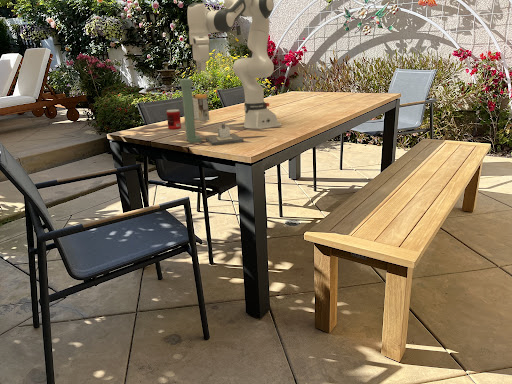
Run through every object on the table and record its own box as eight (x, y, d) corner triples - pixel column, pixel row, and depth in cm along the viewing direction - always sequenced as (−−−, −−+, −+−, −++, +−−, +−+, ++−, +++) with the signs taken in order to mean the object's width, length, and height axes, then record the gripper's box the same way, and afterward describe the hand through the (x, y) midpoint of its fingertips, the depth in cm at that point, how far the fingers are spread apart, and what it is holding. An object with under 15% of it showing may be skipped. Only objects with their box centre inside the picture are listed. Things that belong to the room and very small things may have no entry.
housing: (227, 136, 210) (226, 122, 208) (230, 138, 206) (229, 124, 204) (218, 137, 209) (217, 123, 207) (220, 139, 205) (219, 125, 202)
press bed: (235, 137, 217) (235, 133, 216) (243, 142, 204) (243, 138, 204) (206, 140, 212) (205, 136, 211) (212, 145, 199) (211, 142, 199)
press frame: (198, 139, 216) (193, 78, 205) (201, 141, 208) (196, 79, 198) (185, 140, 214) (179, 79, 203) (187, 143, 206) (181, 80, 196)
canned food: (182, 127, 251) (180, 109, 248) (180, 129, 244) (178, 111, 240) (169, 127, 251) (167, 109, 248) (167, 130, 244) (165, 111, 240)
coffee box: (209, 119, 274) (208, 95, 269) (204, 121, 269) (202, 96, 263) (198, 119, 278) (196, 95, 273) (193, 120, 273) (190, 96, 268)
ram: (207, 116, 212) (205, 93, 209) (209, 118, 207) (208, 94, 203) (192, 117, 210) (190, 94, 206) (195, 119, 205) (193, 96, 201)
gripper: (188, 41, 201) (191, 70, 206) (196, 39, 183) (199, 71, 188) (201, 40, 203) (203, 69, 208) (210, 39, 185) (212, 71, 190)
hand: (201, 70), depth 198 cm, fingers open, 8 cm apart
